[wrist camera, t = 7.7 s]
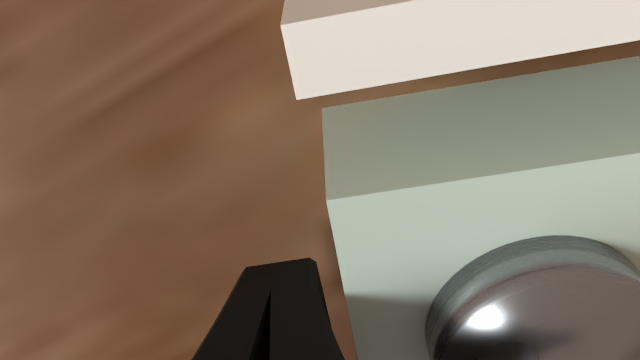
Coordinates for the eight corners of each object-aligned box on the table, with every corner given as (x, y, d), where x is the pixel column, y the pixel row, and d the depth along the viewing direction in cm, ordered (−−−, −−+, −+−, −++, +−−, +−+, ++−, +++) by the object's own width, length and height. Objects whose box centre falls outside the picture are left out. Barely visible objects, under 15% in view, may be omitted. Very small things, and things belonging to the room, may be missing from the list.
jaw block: (602, 287, 13) (721, 463, 9) (360, 319, 14) (381, 501, 10) (632, 52, 10) (828, 170, 6) (321, 104, 11) (328, 244, 7)
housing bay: (793, 338, 14) (902, 447, 11) (371, 393, 15) (384, 506, 12) (982, -155, 8) (1282, -161, 6) (288, -21, 9) (280, 25, 7)
